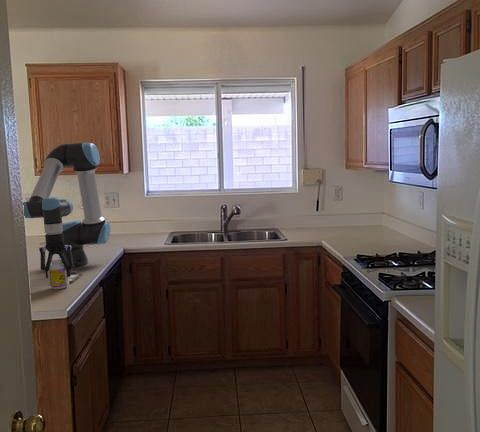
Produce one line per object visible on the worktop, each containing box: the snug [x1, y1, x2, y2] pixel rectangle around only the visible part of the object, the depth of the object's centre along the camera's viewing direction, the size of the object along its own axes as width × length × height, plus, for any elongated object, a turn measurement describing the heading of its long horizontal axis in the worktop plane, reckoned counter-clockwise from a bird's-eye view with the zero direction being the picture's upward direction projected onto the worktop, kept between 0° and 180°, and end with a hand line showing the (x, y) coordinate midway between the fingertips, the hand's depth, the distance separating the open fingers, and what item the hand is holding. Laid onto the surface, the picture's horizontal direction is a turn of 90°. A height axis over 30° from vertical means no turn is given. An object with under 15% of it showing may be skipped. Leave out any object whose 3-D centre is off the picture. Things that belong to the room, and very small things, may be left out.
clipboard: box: [68, 270, 83, 285], centre depth 243 cm, size 16×10×2 cm, turn 1°
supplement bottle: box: [49, 257, 68, 290], centre depth 228 cm, size 7×7×13 cm
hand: (59, 284), depth 228 cm, fingers closed on supplement bottle, 7 cm apart
